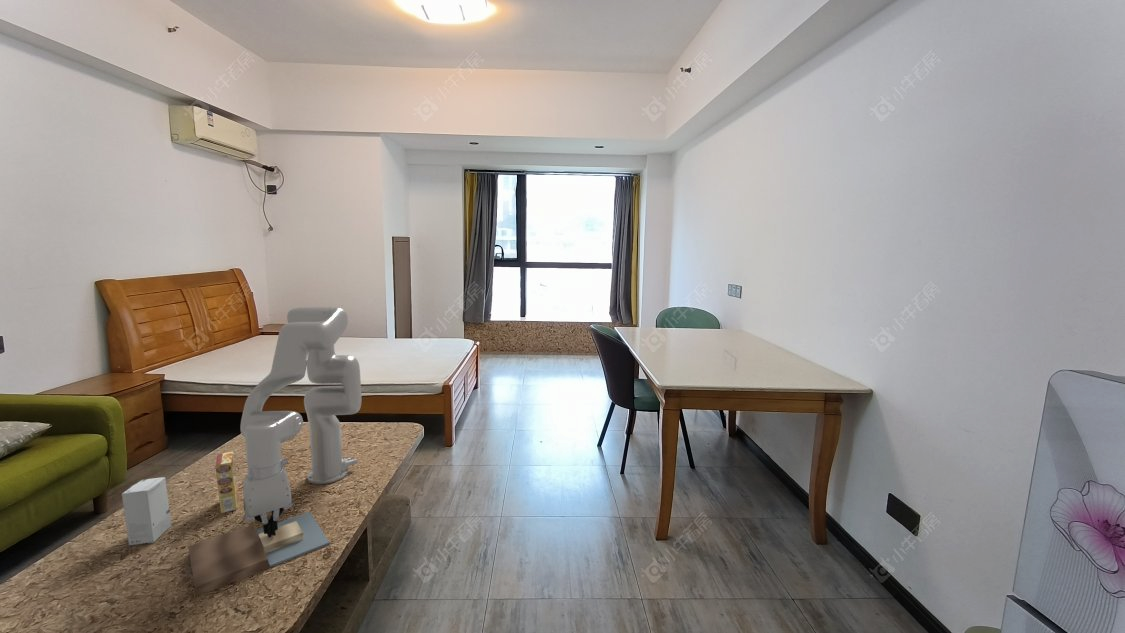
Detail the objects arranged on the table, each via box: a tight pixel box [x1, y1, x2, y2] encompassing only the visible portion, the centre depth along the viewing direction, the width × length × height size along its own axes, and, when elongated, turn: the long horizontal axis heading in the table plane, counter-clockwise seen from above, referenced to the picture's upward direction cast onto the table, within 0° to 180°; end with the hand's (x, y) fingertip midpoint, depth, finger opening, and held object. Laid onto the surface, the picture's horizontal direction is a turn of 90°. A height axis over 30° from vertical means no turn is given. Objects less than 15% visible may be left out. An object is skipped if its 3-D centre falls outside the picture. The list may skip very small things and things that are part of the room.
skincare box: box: [121, 476, 172, 546], centre depth 124 cm, size 8×6×15 cm
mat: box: [255, 511, 331, 568], centre depth 124 cm, size 14×19×1 cm
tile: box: [258, 521, 303, 553], centre depth 122 cm, size 9×7×2 cm
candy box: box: [214, 451, 239, 514], centre depth 139 cm, size 9×4×15 cm, turn 33°
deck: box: [187, 524, 270, 597], centre depth 115 cm, size 14×19×2 cm
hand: (270, 533), depth 121 cm, fingers closed
